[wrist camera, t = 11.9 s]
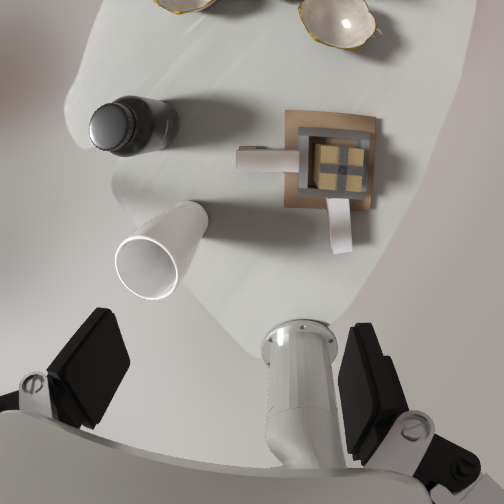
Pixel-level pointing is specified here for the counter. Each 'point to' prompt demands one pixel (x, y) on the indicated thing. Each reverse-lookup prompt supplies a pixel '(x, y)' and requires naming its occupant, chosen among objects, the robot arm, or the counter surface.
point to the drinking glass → (161, 251)
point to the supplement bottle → (133, 126)
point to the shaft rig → (301, 166)
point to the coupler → (338, 167)
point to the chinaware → (314, 19)
